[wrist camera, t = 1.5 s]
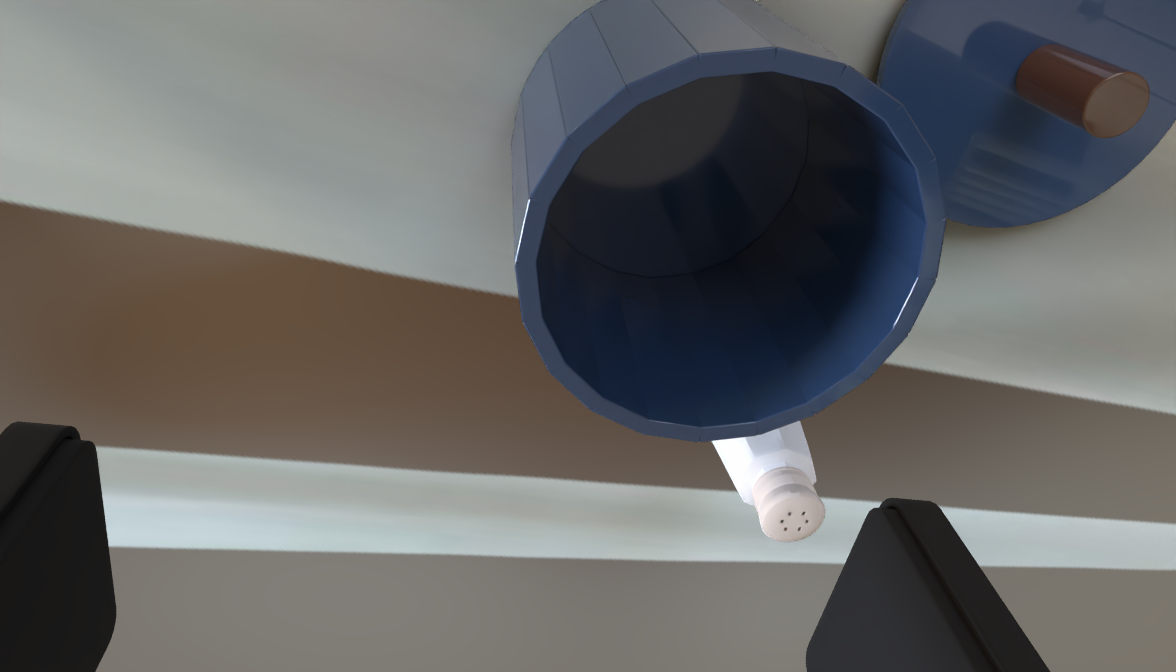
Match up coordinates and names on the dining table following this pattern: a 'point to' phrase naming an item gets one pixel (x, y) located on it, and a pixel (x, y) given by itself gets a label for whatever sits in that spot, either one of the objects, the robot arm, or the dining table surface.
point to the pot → (715, 218)
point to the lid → (1033, 98)
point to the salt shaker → (776, 480)
